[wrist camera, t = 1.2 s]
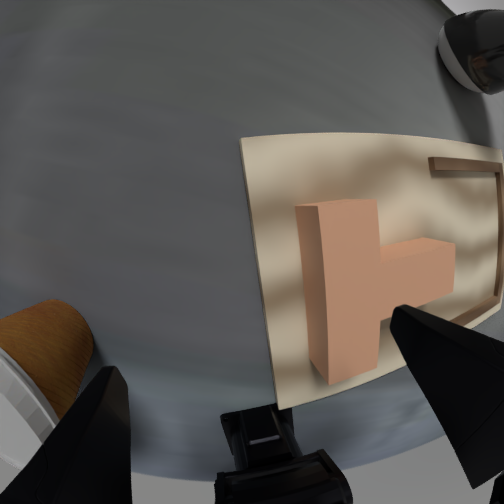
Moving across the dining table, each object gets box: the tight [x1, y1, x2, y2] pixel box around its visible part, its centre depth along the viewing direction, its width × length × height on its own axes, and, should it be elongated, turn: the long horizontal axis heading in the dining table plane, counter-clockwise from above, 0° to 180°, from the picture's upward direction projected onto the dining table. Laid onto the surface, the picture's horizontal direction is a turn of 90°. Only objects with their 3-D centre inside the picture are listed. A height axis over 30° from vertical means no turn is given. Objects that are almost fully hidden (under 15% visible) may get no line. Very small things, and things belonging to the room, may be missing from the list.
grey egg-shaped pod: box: [438, 9, 504, 95], centre depth 13 cm, size 10×10×15 cm
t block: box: [295, 199, 455, 385], centre depth 19 cm, size 12×12×4 cm
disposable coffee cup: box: [0, 299, 93, 470], centre depth 12 cm, size 10×10×12 cm
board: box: [239, 133, 504, 410], centre depth 22 cm, size 22×34×2 cm, turn 98°
